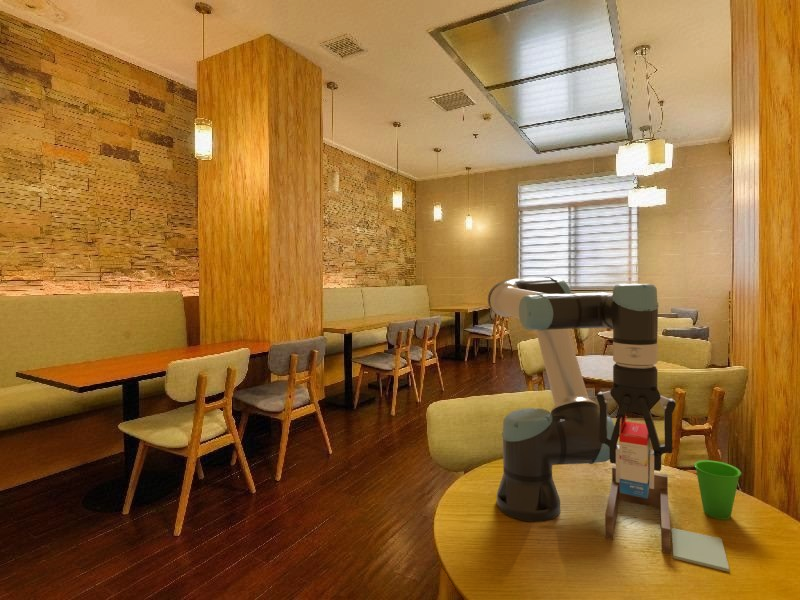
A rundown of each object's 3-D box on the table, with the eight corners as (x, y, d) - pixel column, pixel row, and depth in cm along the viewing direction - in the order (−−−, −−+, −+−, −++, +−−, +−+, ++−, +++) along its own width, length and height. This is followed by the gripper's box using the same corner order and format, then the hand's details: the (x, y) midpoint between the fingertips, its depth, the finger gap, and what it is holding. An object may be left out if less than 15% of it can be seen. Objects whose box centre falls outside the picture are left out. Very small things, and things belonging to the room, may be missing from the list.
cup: (743, 528, 98) (743, 479, 97) (694, 517, 102) (694, 471, 102) (738, 510, 105) (739, 464, 105) (693, 500, 110) (693, 457, 110)
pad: (673, 558, 88) (673, 555, 88) (671, 530, 98) (671, 527, 98) (729, 572, 84) (729, 568, 84) (721, 541, 93) (721, 538, 93)
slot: (605, 537, 96) (605, 501, 95) (612, 496, 113) (612, 465, 113) (670, 553, 90) (670, 515, 89) (667, 506, 107) (667, 474, 107)
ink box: (648, 499, 82) (648, 422, 82) (618, 493, 85) (618, 418, 84) (651, 481, 90) (651, 409, 89) (623, 475, 92) (623, 406, 91)
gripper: (581, 364, 86) (582, 481, 87) (692, 371, 77) (691, 501, 78) (586, 357, 93) (587, 466, 94) (689, 364, 84) (688, 484, 85)
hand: (634, 482), depth 86 cm, fingers closed on ink box, 5 cm apart
